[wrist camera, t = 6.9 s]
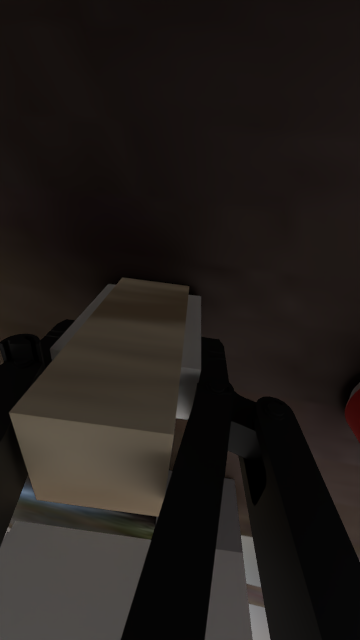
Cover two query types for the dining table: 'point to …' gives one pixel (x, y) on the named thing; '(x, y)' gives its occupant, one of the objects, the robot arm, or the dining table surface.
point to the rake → (109, 404)
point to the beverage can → (354, 411)
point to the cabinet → (105, 581)
